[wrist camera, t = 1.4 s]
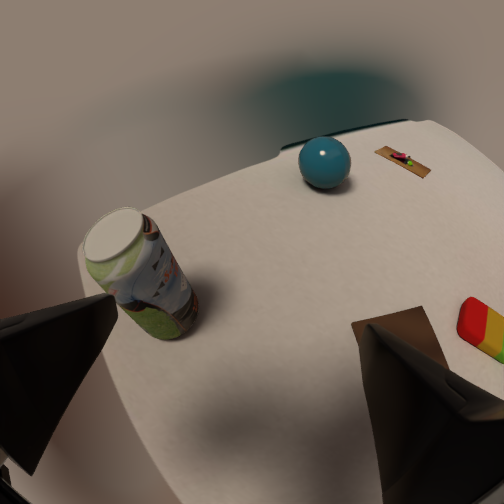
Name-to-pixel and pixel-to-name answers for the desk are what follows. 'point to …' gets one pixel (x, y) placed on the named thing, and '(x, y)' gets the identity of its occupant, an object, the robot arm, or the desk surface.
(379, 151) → the board
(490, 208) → the desk surface
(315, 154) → the ball
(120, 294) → the beverage can
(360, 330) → the coaster
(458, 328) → the popsicle
